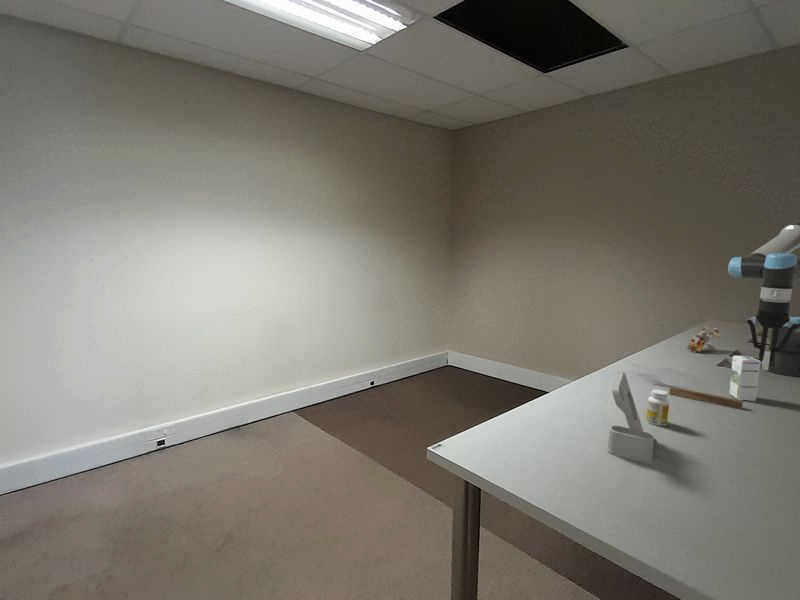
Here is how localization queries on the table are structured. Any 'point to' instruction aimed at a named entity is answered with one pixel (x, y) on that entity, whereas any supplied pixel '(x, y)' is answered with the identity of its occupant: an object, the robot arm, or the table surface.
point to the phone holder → (631, 439)
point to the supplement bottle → (658, 408)
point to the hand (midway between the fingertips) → (764, 369)
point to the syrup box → (744, 378)
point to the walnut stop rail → (706, 397)
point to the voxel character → (703, 340)
